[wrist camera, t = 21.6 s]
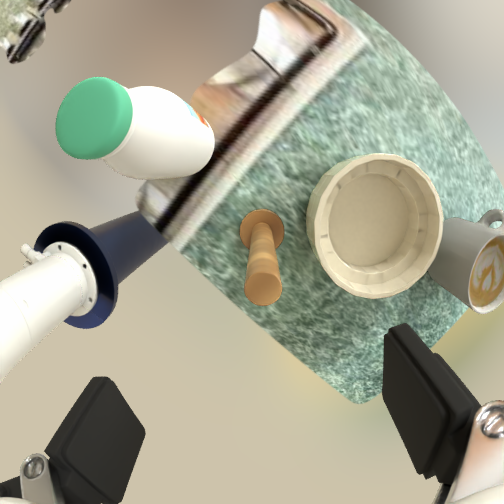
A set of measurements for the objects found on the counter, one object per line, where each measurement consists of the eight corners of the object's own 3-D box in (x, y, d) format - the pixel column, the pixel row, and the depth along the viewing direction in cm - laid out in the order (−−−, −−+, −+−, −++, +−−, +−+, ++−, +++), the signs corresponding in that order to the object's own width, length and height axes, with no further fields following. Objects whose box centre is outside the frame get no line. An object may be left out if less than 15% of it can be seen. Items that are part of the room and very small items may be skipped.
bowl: (280, 238, 33) (284, 252, 27) (348, 131, 29) (366, 123, 24) (374, 298, 35) (391, 319, 29) (435, 204, 31) (462, 211, 25)
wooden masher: (232, 236, 33) (205, 301, 17) (254, 200, 32) (248, 230, 15) (268, 258, 34) (275, 339, 17) (291, 223, 33) (322, 276, 16)
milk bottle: (228, 152, 31) (179, 123, 11) (173, 189, 32) (68, 218, 13) (193, 100, 29) (113, 24, 10) (141, 138, 30) (21, 117, 11)
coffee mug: (442, 297, 35) (479, 328, 25) (414, 250, 33) (457, 276, 23) (493, 238, 32) (535, 256, 22) (471, 188, 30) (518, 197, 21)
